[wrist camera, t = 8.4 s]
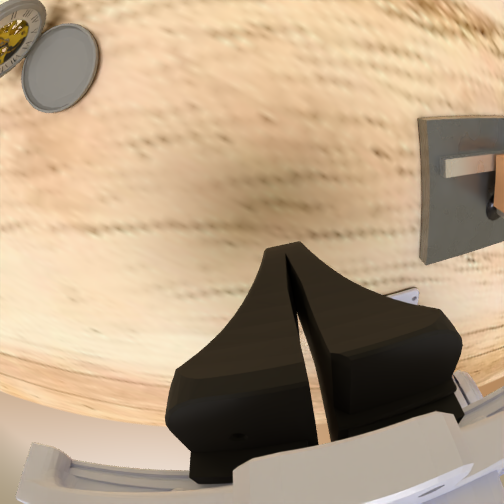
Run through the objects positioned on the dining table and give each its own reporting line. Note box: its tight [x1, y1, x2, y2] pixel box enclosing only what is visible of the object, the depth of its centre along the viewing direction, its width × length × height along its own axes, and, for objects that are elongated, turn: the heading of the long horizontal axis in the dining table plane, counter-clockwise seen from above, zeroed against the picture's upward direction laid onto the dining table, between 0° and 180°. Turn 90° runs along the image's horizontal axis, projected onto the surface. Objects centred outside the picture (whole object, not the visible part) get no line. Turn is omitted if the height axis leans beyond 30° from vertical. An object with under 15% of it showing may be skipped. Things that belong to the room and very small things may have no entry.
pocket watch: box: [0, 0, 98, 113], centre depth 10 cm, size 8×8×10 cm
